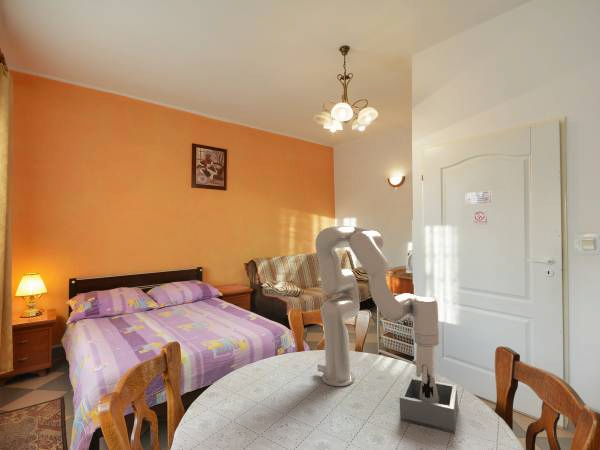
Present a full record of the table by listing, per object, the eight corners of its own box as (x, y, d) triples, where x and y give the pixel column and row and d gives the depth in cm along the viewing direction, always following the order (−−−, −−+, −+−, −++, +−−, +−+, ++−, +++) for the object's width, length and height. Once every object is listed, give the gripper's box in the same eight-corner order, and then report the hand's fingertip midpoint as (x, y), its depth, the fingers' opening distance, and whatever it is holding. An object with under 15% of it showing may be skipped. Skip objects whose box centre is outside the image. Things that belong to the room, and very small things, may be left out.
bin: (400, 420, 99) (399, 397, 99) (409, 397, 112) (408, 376, 112) (454, 433, 91) (453, 409, 92) (457, 407, 105) (456, 385, 105)
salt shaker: (441, 411, 98) (439, 368, 98) (421, 410, 99) (419, 368, 100) (437, 401, 104) (435, 360, 104) (418, 400, 105) (416, 360, 105)
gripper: (417, 328, 111) (420, 382, 111) (408, 344, 97) (411, 406, 96) (441, 331, 107) (444, 386, 107) (436, 348, 93) (438, 412, 93)
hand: (428, 395), depth 102 cm, fingers closed on salt shaker, 3 cm apart
